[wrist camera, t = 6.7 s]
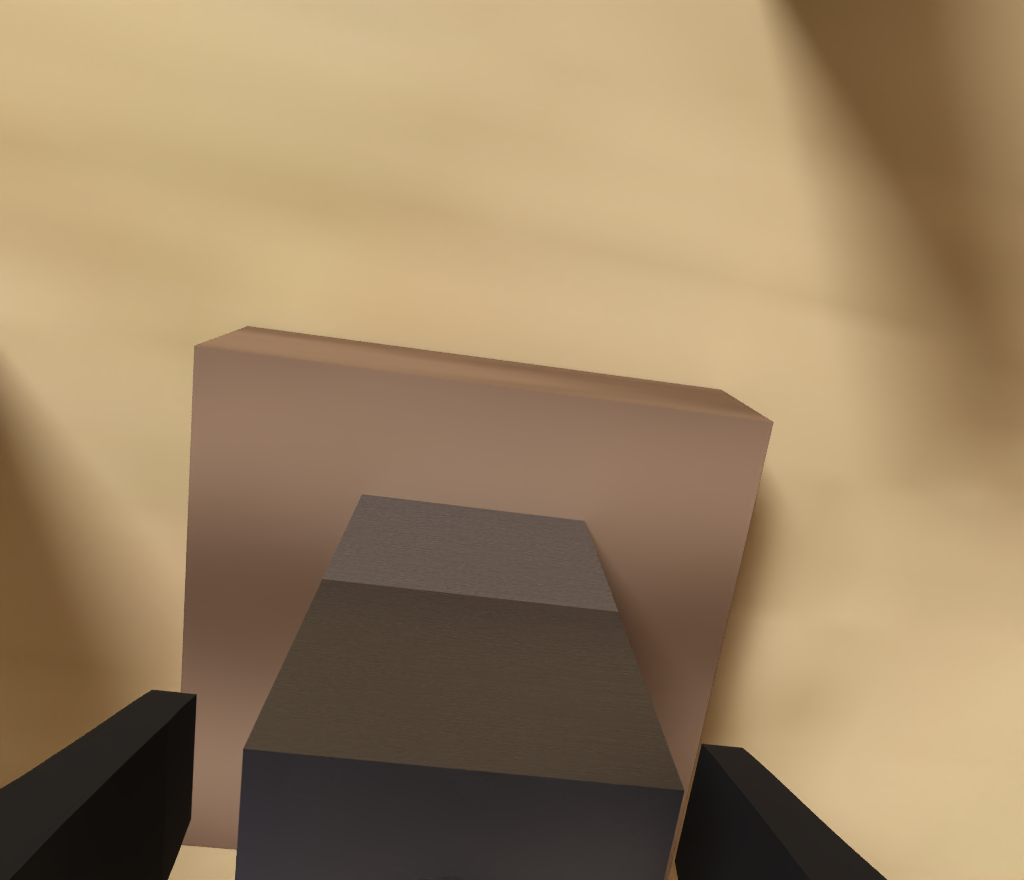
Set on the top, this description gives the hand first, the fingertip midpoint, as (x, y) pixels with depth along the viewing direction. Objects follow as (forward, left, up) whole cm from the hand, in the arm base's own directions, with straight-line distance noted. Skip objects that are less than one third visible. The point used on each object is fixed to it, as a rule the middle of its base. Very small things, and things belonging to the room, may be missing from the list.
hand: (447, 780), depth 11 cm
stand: (0, 0, -7) cm, 7 cm away
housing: (0, 0, -4) cm, 4 cm away
